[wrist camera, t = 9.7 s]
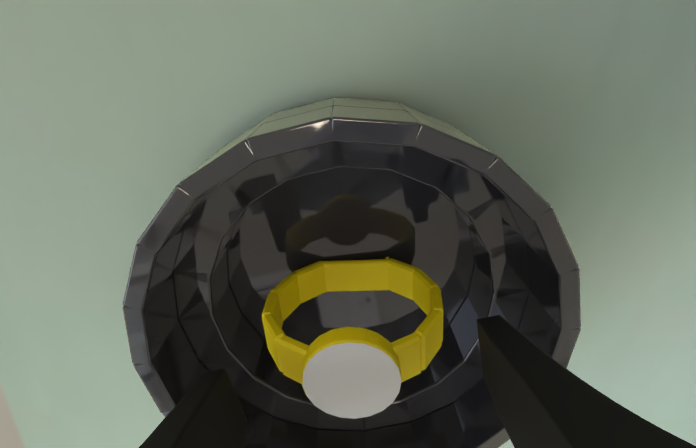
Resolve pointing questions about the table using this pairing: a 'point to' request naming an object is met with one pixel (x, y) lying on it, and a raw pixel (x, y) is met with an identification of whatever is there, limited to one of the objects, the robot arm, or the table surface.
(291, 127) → the bowl
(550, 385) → the robot arm
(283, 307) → the watch
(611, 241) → the table surface
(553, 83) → the table surface
